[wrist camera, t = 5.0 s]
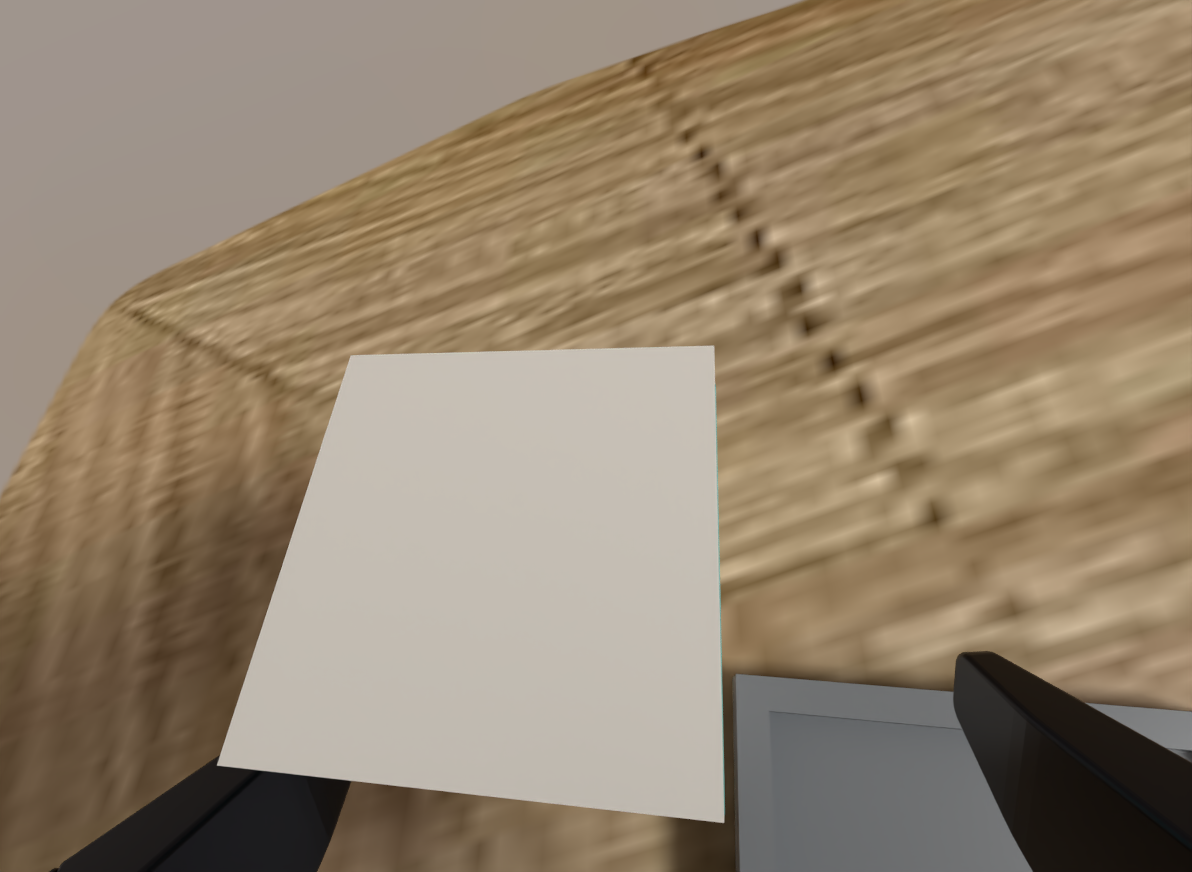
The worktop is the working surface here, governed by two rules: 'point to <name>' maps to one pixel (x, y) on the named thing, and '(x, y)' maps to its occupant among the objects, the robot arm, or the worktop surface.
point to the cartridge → (504, 585)
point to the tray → (875, 779)
